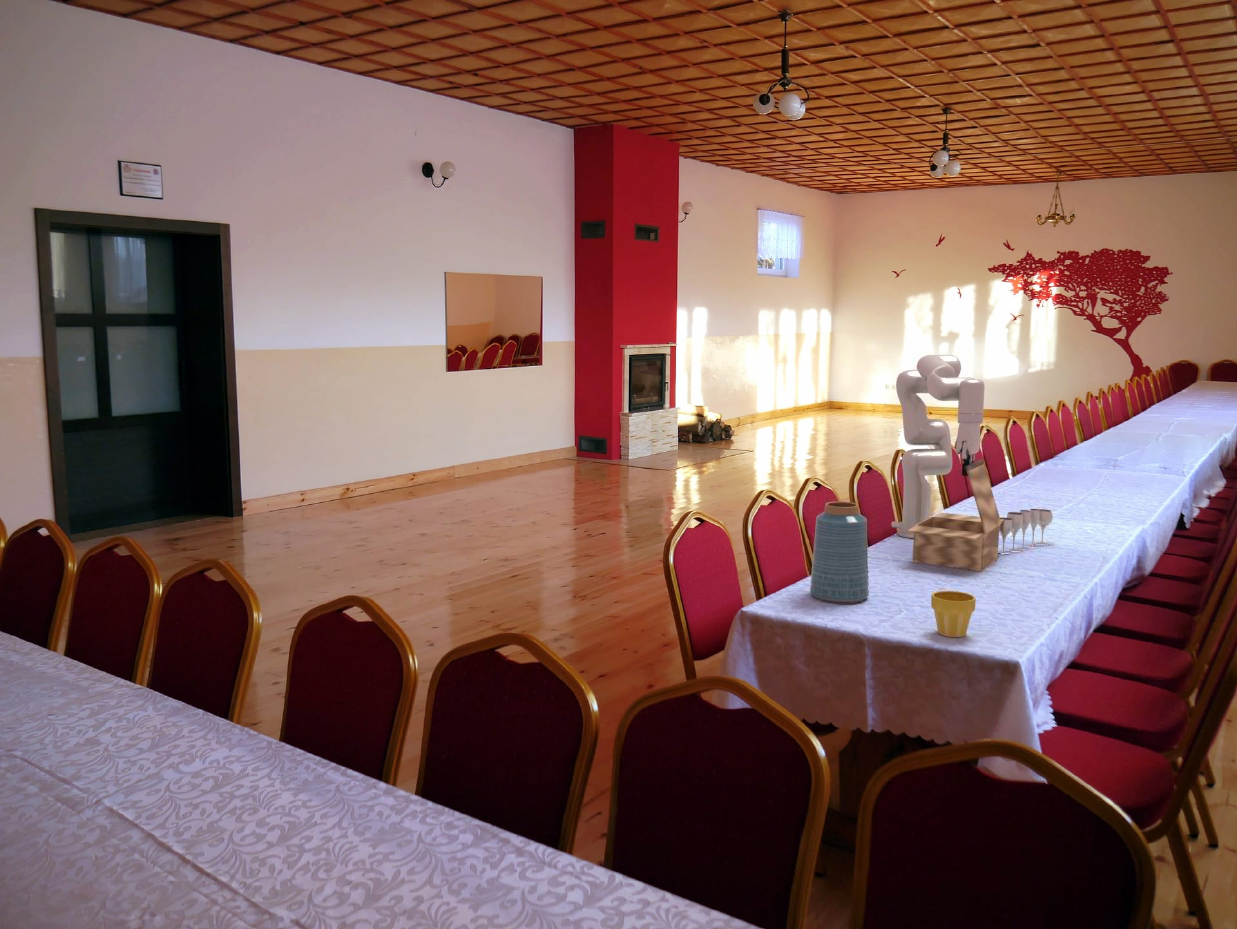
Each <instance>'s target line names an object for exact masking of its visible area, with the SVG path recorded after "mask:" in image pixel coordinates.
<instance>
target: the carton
mask: <svg viewBox="0 0 1237 929" xmlns="http://www.w3.org/2000/svg"><path fill="white" fill-rule="evenodd" d="M1000 520H1001V523H1002V522H1003V521H1004V519H1000ZM999 526H1000V525H998V526H997V527H995V528H994V529H992V530H991V531H989V532H988V533H986V534H985V532H984V529H983V526H982V522H981V519H980V516H974V515H967V514H957V513H948V512H947V513H946V512H939V513H938V514H935V515H934V516H933V515H932V516H931V515H930V517H929V518H928V519H926V520H924V521H922V522H920V523H918V524H916V525H914V527H913V528H911V529H909V530H908V532H911V533H914V538H913V544H912V562H913V563H918V564H926V565H934V566H939V567H946V566H947V567H949V568H953V567H956V568H955V569H961V568H962V569H963V570H968V569H971V570H970V571H977V572H982V571H983V572H984V571H986V570H987V569H988V568H989V567H990V566H992V565H994V563H996V562H997V561H998V560H999V554H998V552H999V544H1000V543H999V541H1000V533H999ZM996 560H997V561H996ZM995 561H996V562H995ZM991 564H992V565H991ZM987 567H988V568H987ZM986 568H987V569H986ZM962 569H961V570H962Z"/></svg>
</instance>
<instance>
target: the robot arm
mask: <svg viewBox="0 0 1237 929" xmlns="http://www.w3.org/2000/svg"><path fill="white" fill-rule="evenodd" d="M961 371H962V364H961V361H960V359H959V358H958V357H957V356H956V355H954V354H928V355H924V356H922V357H921V358H920V359H919V360H918V361H917V363H916V369H909V370H908V369H907V370H903V371H902V372H900V373H899V374H898V375H897V378H896V380H895V381H896V383H895V390H896V393H897V398H898V400H899V403H900V407H901V411H902V412H901V414H902V426H903V437H904V440H905V442H906V444H907V445H910V446H917V447H918V446H933V447H934V448H914V449H909V450H906V451H905V452H904V453H903V455H902V456H901V457H902V458H901V467H902V474H903V494H902V495H903V498H902V499H903V501H902V521H900V522H898V521H891V523H890V524H891V527H892V528H894V529H898V530H897V535H898V536H900V537H903V538H907V539H908V538H909V539H914V533H911V532H908V530H909V529H911V528H913V527H914V525H916V524H918V523H920V522H922V521H924V520H926V519H928V518H929V517H931V504H932V502H931V501H932V488H931V484H930V483H929V482H928V481H929V480H927V478H926V477H927V476H943V475H947V474H949V473H950V472H951V471H952V470H953V469H952V468H953V453H952V452H953V451H952V439H951V438H952V436H951V430H950V427H949V424H948V423H947V421H945V420H944V419H940V418H928V412H927V411H928V408H927V405H926V404H925V402H924V401H923V399H922V397H920V396H919V395H918V394H929V395H930V396H931V397H932V398H933V399H935V400H936V401H942V402H947V401H948V402H950V401H952V402H954V401H956V402H957V401H958V406H957V424H958V429H957V437H956V446H955V453H956V454H957V455H961V459H962V461H961V464H962V466H961V476H963V477H968V474H967V471H966V467H965V466H968V465H970V464H972V463H974V462H975V460H976V458H975V457H976V454H977V453H978V452H979V451H980V446H981V445H980V444H981V425H982V424H983V423H984V408H985V407H984V404H985V402H984V401H985V382H984V381H983V380H982V379H976V378H974V377H966V376H965V377H959V376H960V374H961Z"/></svg>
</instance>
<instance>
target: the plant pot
mask: <svg viewBox="0 0 1237 929" xmlns="http://www.w3.org/2000/svg"><path fill="white" fill-rule="evenodd" d="M930 597H931V598H930V599H931V602H930V604H931V605H930V606H931V608H932V609H933V613H934V618H935V621H936V622H935V623H936V628H937V632H938V634H939V635H941V636H944V637H948V638H964V637H966V635H967V631H968V628H969V624H970V622H971V621H970V620H971V617H972V613H974V612H975V610H976V601H977V600H976V597H975V596H974V595H973V594H971V593H968V592H964V591H958V590H939V591H937V590H936V591H934V592H932V594H931V596H930Z"/></svg>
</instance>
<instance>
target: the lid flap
mask: <svg viewBox="0 0 1237 929" xmlns="http://www.w3.org/2000/svg"><path fill="white" fill-rule="evenodd" d="M985 465H986V464H985V462H984V459H979V460H977V461H974V463H972V464H970V465H968V466H965V467H966V471H967V474H968V476H967V477H968V480H969V481H968V482H969V484H970V488H971V491H972V494H973V497H974V501H975V504H976V508H977V512H978V516H979V517H980V519H981V522H982V526H983V529H984V532H985V534H986V533H988V532H989V531H991V530H992V529H994V528H995V527H997V526H998V525H1000V524H1001V520H1000V518H1001V516H1000V513H999V510H998V507H997V504H996V503H997V502H996V500H995V497H994V494H993V490H992V486H991V482H990V479H989V475H988V473H987V470H986V469H987V468H986V466H985Z"/></svg>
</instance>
